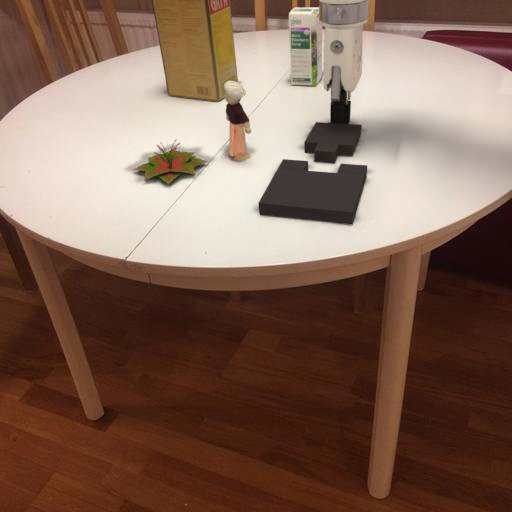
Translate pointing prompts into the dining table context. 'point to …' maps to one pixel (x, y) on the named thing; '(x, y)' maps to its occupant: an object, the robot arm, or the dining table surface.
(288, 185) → the base pad
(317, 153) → the small pad
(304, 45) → the syrup box
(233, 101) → the grandmother figurine
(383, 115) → the dining table surface
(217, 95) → the food packaging
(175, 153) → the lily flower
